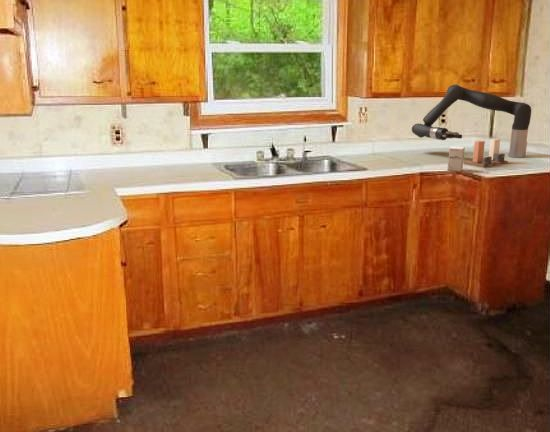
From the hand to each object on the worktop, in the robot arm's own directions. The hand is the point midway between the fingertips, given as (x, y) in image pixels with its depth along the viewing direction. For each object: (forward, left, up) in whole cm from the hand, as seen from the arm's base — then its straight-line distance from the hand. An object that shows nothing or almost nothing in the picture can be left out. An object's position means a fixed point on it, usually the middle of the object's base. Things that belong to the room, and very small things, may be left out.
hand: (461, 136), depth 318 cm
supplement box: (+22, +16, -15) cm, 31 cm away
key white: (-14, +13, -13) cm, 23 cm away
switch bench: (-7, +14, -15) cm, 21 cm away
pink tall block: (0, +13, -13) cm, 19 cm away
